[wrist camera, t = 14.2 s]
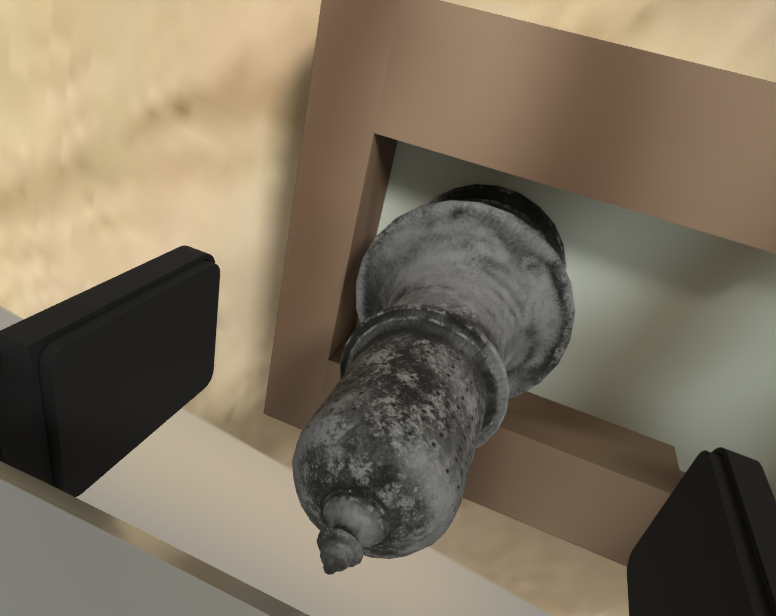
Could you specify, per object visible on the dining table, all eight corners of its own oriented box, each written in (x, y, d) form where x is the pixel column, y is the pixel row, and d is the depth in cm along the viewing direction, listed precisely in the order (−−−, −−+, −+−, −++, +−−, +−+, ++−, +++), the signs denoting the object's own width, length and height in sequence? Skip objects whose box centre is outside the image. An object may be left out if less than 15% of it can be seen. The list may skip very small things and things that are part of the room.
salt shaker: (616, 230, 16) (681, 567, 5) (517, 376, 19) (433, 777, 8) (437, 140, 16) (178, 284, 6) (368, 295, 19) (115, 574, 9)
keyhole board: (1396, 241, 12) (1682, 304, 9) (940, 617, 18) (1010, 728, 15) (374, -12, 16) (325, -28, 13) (306, 366, 23) (263, 413, 20)
